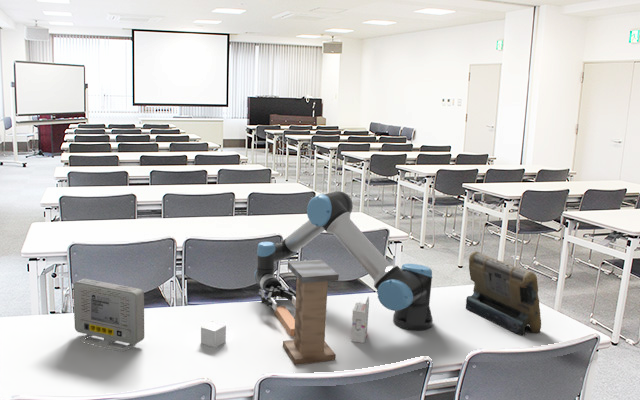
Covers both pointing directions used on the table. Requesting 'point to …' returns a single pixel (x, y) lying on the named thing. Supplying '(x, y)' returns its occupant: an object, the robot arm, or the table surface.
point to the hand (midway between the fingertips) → (286, 306)
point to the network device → (109, 313)
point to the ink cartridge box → (360, 322)
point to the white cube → (213, 334)
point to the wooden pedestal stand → (310, 312)
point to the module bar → (286, 319)
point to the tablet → (504, 294)
